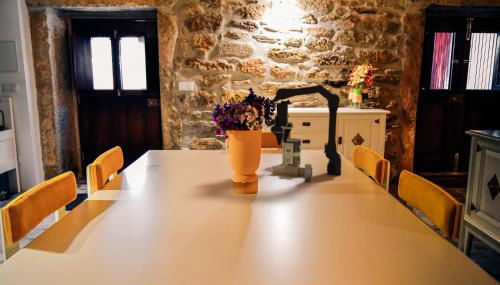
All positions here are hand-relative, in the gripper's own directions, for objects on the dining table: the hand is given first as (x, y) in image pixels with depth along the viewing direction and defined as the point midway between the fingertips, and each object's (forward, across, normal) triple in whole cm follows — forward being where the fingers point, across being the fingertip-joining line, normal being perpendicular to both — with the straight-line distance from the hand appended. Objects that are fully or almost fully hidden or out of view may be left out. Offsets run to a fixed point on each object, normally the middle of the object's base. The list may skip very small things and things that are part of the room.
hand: (282, 143), depth 188 cm
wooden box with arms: (+14, +6, +7) cm, 17 cm away
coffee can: (+14, -14, +1) cm, 20 cm away
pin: (+14, +14, +17) cm, 27 cm away
